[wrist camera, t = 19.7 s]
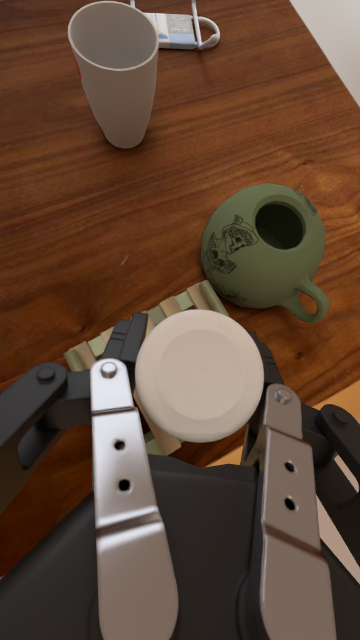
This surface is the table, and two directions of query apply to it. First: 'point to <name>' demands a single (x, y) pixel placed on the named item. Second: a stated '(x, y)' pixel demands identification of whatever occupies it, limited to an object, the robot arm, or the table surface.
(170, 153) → the table surface
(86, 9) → the cup
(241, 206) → the olive green ceramic pot
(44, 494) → the table surface
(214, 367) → the sprinkles bottle
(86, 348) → the drying rack
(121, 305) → the table surface
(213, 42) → the wall mount rack
